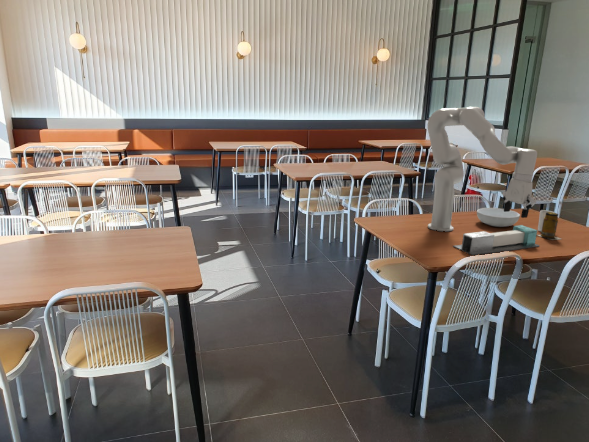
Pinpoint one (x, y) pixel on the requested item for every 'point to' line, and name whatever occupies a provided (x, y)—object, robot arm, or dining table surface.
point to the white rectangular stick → (508, 237)
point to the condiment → (549, 226)
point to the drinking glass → (542, 218)
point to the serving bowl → (497, 217)
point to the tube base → (484, 240)
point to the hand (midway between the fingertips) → (515, 214)
